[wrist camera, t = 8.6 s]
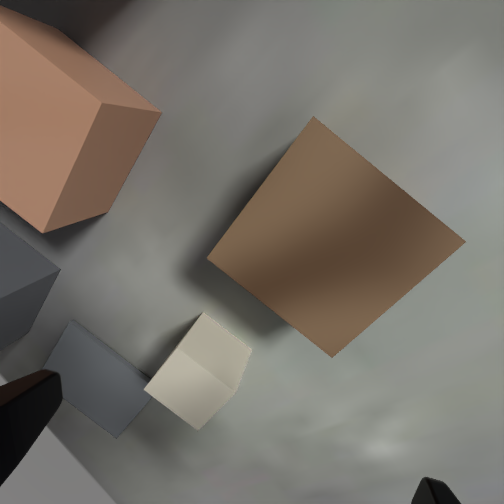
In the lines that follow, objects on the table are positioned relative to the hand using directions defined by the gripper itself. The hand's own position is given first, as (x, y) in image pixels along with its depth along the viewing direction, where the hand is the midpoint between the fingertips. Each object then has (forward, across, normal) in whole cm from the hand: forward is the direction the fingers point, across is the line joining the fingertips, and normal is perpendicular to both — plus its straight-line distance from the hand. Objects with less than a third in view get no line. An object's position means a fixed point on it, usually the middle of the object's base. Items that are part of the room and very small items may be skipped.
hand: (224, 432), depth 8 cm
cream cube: (+12, +4, +7) cm, 14 cm away
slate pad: (+12, +12, +13) cm, 21 cm away
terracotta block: (+12, +13, -6) cm, 18 cm away
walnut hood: (+12, -2, -3) cm, 12 cm away
